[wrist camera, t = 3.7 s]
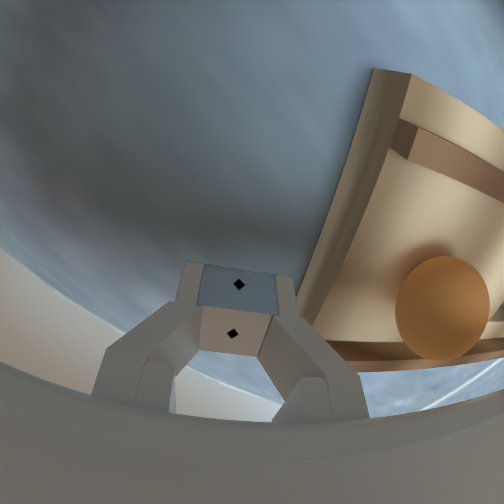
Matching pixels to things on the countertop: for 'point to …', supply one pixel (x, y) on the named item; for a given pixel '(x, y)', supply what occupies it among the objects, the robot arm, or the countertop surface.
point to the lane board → (407, 221)
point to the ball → (442, 308)
